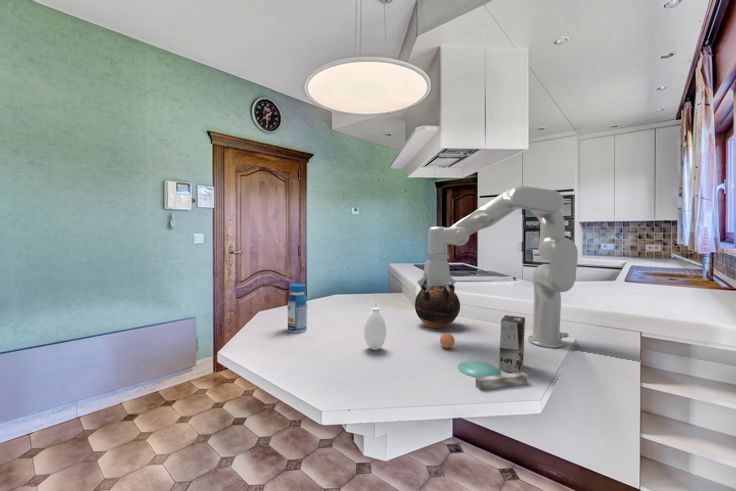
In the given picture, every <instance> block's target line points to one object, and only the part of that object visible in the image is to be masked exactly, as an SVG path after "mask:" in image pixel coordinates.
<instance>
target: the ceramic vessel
mask: <svg viewBox="0 0 736 491" xmlns="http://www.w3.org/2000/svg"><path fill="white" fill-rule="evenodd" d="M450 266H451V264H449V268H450ZM423 285H424V286H425V284H423ZM455 289H456V286H455V284H454V285H453V287H452V288H451V289H450V291H449V298H448V301H444V300H443V290H444V288H443V286H431V288H430V290H429V293H430V302H426V301H425V300H424V291H423V290H422V289H420V290H419V292H418V293H417V295H416V296H415V301H414V308H415V309H414V310H415V313H416V315H417V317H418V318H419V320H420V321H421V322H422V323H423V324H424V325H425V326H426V327H429V328H432V329H442V328H446V327H449V326H450V325H451V324H452V323H454V321H455V320H456V318H458V316H459V313H460V310H461V302H460V298H459V297H458V295H457V293H456V291H455Z"/></svg>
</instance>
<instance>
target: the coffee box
mask: <svg viewBox="0 0 736 491" xmlns="http://www.w3.org/2000/svg"><path fill="white" fill-rule="evenodd" d="M525 328H526V317H524V316H516V315H509V314H508V315H506V314H505V315H504V317H502V318H501V320H500V335H499V336H500V338H499V361H498V363H499V364H498V369H499V370H500V371H504V372H509V373H511V374H512V373H520V372H522V369H523V368H524V360H525V359H524V355H525V332H526V331H525V330H526V329H525Z"/></svg>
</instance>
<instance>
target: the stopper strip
mask: <svg viewBox="0 0 736 491" xmlns="http://www.w3.org/2000/svg"><path fill="white" fill-rule="evenodd" d="M526 384H528V374H527V373H524V372H523V371H521V372H520V373H512V372H511V373H505V374H500V375H496V376H487V377H479V378H477V377H475V388H477V389H478V390H479V391H480V390H481V391H482V390H489V389H495V388H504V387H511V386H517V385H518V386H519V385H526Z"/></svg>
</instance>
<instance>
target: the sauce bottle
mask: <svg viewBox="0 0 736 491" xmlns="http://www.w3.org/2000/svg"><path fill="white" fill-rule="evenodd" d="M363 334H364V340H365V343H366V345H367V346H368V348H370V349H371V350H373V351H377V350H380V348H382V347H383V346H384V344H385V341H386V338H387V336H386V335H387V326H386V323H385V319H384V316H383V314H382V312H381V310H380V308H379V307H377V301H375V303H374V307H372V308H371V311H370V312H369V314H368V316H367V318H366V321H365V323H364V333H363Z"/></svg>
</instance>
